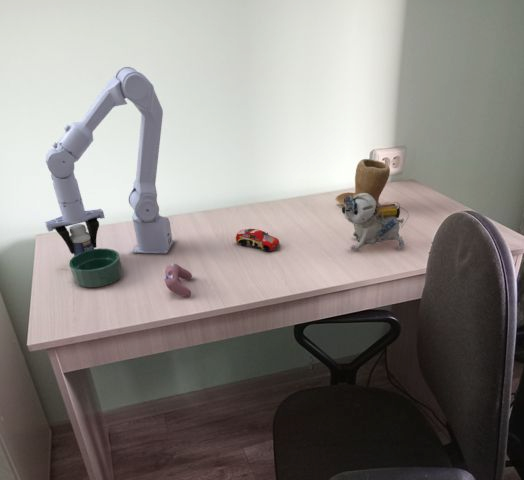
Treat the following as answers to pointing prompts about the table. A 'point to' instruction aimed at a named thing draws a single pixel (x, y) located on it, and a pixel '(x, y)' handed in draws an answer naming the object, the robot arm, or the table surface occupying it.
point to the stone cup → (368, 179)
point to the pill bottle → (80, 239)
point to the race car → (257, 239)
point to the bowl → (96, 267)
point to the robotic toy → (372, 220)
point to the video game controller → (177, 279)
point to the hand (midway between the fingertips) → (83, 249)
